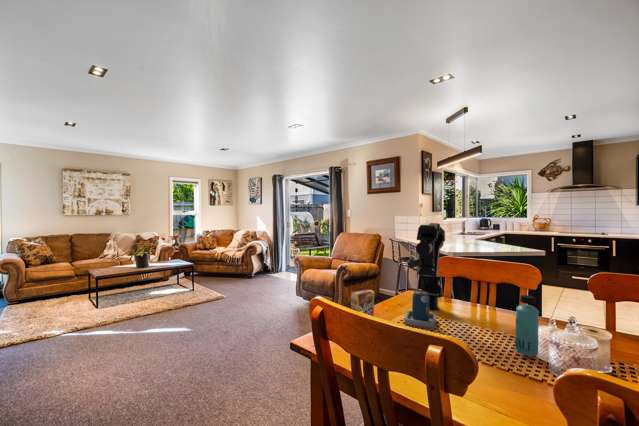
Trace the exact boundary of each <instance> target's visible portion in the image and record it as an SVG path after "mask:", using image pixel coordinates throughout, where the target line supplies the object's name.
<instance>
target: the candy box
mask: <svg viewBox="0 0 639 426" xmlns="http://www.w3.org/2000/svg"><path fill="white" fill-rule="evenodd" d="M351 309H353V310H356V311H363V313H365V314H368V315H371V316H374V314H375V311H374V309H375V291H374V290H371V289H362V290H358V291H357V290H356V291H351V297H350V310H351Z"/></svg>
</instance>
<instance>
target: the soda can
mask: <svg viewBox="0 0 639 426" xmlns="http://www.w3.org/2000/svg"><path fill="white" fill-rule="evenodd" d="M411 302H412V307H411V308H412V310H411V311H412V317H413V319H414V320H421V321H428V320H429V313H430V310H429V309H430V297H429V295H428V292H426V291H422V290H414V291H413V294H412V301H411Z"/></svg>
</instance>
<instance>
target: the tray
mask: <svg viewBox="0 0 639 426" xmlns="http://www.w3.org/2000/svg"><path fill="white" fill-rule="evenodd" d="M436 315H437V314H436V313H431V312H429V320H428V321H421V320H414V319H413V317H412V310H408V309H407V310H406V314H405V316H404V320H403V321H404V324H403V325H404V326H408V327H415V328H422V329H428V330H434V331H435V330H436V326H437V325H436V321H437V320H436Z"/></svg>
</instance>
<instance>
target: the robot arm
mask: <svg viewBox="0 0 639 426" xmlns="http://www.w3.org/2000/svg"><path fill="white" fill-rule="evenodd" d="M416 235H417V236H416V241H419V242H418V243H417V245H416V246H415V251H416V253H417V254H418V255H419V257H416V258H413V257H412V258H410V259H409V260H407V261H406V263H407V266H408V269H413V268H416V267H419V269H418V276H419V277H420V278H422V283H421V291H426V292H428V295H429V297H430V309H429V311H439V308H440V307H439V299H440V298H442V297H443V288H442V285H441V283H440V280H439V277H438V269H439V261H440V259H439V258H440V250H441V249H442V248H443V247H444V243H445V242H446V232H445V229H443V228H442V227H441V224H440V223H437V222H431V223H429V224H420V225H419V227H418V228H417V234H416Z"/></svg>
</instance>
